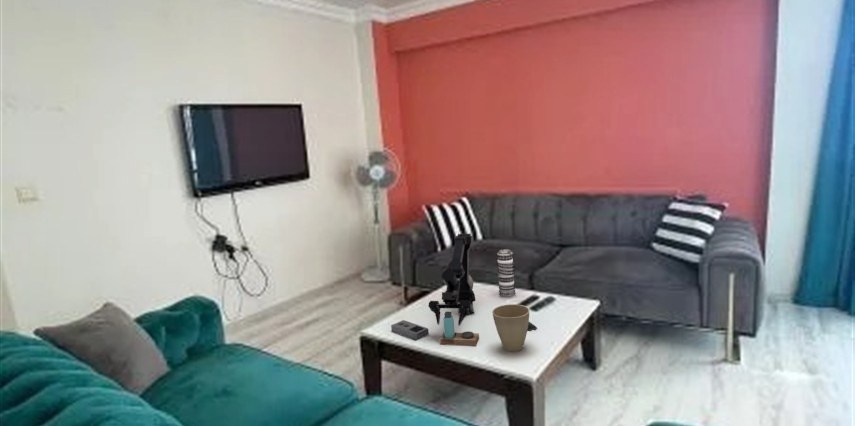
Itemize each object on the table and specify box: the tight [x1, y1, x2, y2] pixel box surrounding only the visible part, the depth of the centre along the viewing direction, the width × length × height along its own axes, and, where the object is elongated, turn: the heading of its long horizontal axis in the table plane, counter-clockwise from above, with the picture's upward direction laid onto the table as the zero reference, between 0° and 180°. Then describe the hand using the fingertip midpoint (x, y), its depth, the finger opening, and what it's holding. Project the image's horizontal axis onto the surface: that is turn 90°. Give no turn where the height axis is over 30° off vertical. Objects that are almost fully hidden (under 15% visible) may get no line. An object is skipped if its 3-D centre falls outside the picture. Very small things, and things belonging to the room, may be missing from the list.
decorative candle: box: [496, 248, 516, 300], centre depth 265 cm, size 9×9×25 cm
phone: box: [527, 321, 538, 332], centre depth 229 cm, size 8×1×15 cm
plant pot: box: [491, 304, 530, 352], centre depth 206 cm, size 15×15×16 cm
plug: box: [442, 311, 456, 338], centre depth 218 cm, size 4×4×13 cm
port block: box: [390, 319, 430, 341], centre depth 231 cm, size 8×17×3 cm, turn 43°
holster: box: [439, 331, 480, 347], centre depth 217 cm, size 7×16×4 cm, turn 73°
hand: (448, 324), depth 217 cm, fingers open, 9 cm apart
